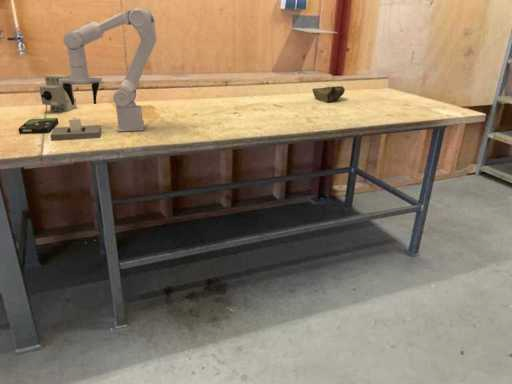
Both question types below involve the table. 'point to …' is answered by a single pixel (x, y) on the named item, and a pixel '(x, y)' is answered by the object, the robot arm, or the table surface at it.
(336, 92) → the concrete fragment
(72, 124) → the block
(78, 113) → the table surface
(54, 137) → the outlet plate
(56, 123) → the disk drive
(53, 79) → the circuit breaker
